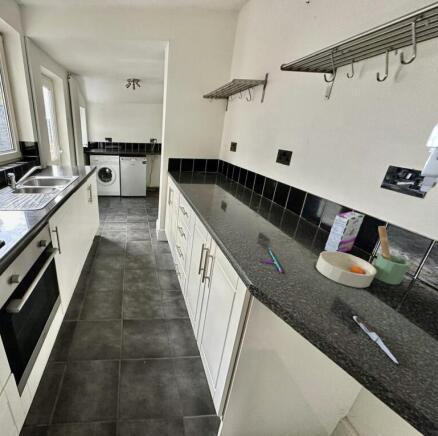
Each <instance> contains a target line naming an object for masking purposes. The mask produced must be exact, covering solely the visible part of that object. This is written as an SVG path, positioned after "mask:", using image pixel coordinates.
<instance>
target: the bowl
mask: <svg viewBox="0 0 438 436" xmlns="http://www.w3.org/2000/svg"><path fill="white" fill-rule="evenodd" d="M373 265H374V264H371V263H370V262H369V261H367V260H365V259H363V258H360V257H357V256H356V255H353V254H350V253H347V252H337V251H327V250H323V251H322V252H320V253H319V256H318V258H317V261H316V264H315V268H316V269H317V271H318V272H319V273H320V274H321V275H323V276H324V277H326V278H327V279H329V280H331V281H333V282H336V283H338V284H342V285H344V286H348V287H352V288H367V287H370V286H371V284H372V283H373V281H374V279H375V275H376V273H377V271H376V269H375V268H374V267H373ZM354 266H357V267H360V268H361V269H362V270H363V273H362V274H356V273H351V271H350V269H351V268H352V267H354Z"/></svg>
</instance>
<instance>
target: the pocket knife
mask: <svg viewBox="0 0 438 436" xmlns="http://www.w3.org/2000/svg"><path fill="white" fill-rule="evenodd" d="M352 318H353V320H354V321H355V322H356V323H357V325H359V326H360V328H361V329H362V330H363V331H364V332H365V333H366V334H367V335H368V336H369V337H370V338H371V339H372V341H374V342H375V343H376V344H377V345H378V346H379V347H380V348H381V350H383V351H384V353H385V354H387V356H388V357H389V358H390V359H391V360H392V361H393V362H394V363H395V364H398V365H399V361H397V359H396V357H395V356H394V355H393V354H392V353H391V352H390V350H389V348H388V347H387V346H386V345H385V343H384V342H383V341H382V339H381V338H380V336H379V335H378V334H377V333H376V332H375V331H374V330H373V329H372V328H371V327H370V326H369V325H368V324H367V323H366V322H365V321H364V320H363V319H362V318H361V317H360V316H356V315H354V316H352Z"/></svg>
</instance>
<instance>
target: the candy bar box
mask: <svg viewBox="0 0 438 436" xmlns="http://www.w3.org/2000/svg"><path fill="white" fill-rule="evenodd" d="M365 216H366V215H365V214H362V213H360V212H356V211H348V212H343V213H339V214H336V215H335V216H334V220H333V224H332V226H331V229H330V232H329V235H328V236H327V237H328V238H327V240H326V243H325V246H324V251H337V252H343V253H347V252H349V251H351V250H352V248H353V246H354V244H355V241H356V238H357V236H358V234H359V231H360V228H361V226H362V223H363V221H364V219H365Z"/></svg>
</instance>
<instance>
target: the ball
mask: <svg viewBox="0 0 438 436" xmlns="http://www.w3.org/2000/svg"><path fill="white" fill-rule="evenodd" d="M350 271H351V273H356V274H362V273H363V270H362V269H361V268H360V267H357V266H354V267H352V268H351V269H350Z"/></svg>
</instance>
